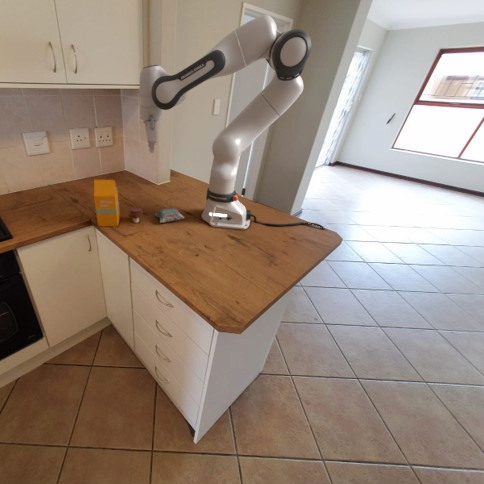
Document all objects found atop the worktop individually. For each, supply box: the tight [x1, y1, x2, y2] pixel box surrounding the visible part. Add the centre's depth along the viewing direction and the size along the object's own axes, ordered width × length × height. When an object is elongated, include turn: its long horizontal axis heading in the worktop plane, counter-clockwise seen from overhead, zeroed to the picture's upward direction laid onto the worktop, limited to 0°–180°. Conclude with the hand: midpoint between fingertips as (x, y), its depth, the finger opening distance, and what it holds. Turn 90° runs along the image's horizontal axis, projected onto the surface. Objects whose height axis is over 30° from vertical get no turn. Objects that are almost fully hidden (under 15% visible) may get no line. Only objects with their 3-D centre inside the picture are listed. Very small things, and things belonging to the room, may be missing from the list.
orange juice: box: [93, 178, 121, 227], centre depth 108 cm, size 8×9×20 cm
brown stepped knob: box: [128, 206, 143, 224], centre depth 113 cm, size 6×6×6 cm
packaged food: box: [154, 207, 186, 224], centre depth 115 cm, size 9×12×5 cm
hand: (151, 149), depth 109 cm, fingers open, 8 cm apart
